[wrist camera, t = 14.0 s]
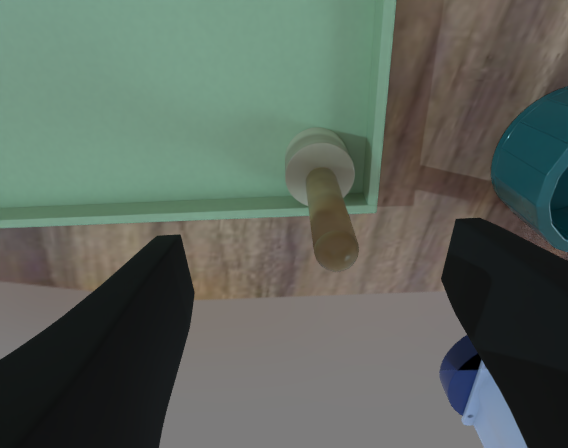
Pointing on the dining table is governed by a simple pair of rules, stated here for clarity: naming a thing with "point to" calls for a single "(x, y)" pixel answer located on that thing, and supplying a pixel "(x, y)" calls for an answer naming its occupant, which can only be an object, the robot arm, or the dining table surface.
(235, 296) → the dining table surface
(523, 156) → the cup
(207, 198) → the tray
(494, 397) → the robot arm
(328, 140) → the brush
